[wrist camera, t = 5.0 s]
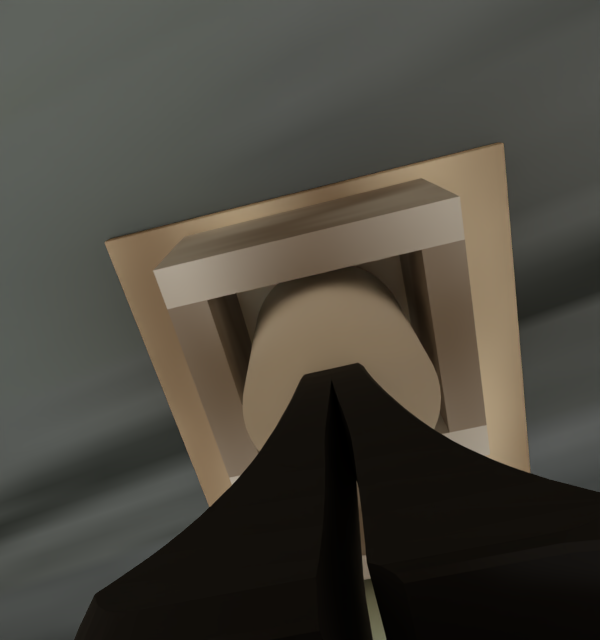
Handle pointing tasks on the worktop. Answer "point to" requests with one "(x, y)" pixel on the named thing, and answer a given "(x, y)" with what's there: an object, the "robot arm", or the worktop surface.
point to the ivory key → (334, 346)
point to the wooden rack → (327, 255)
